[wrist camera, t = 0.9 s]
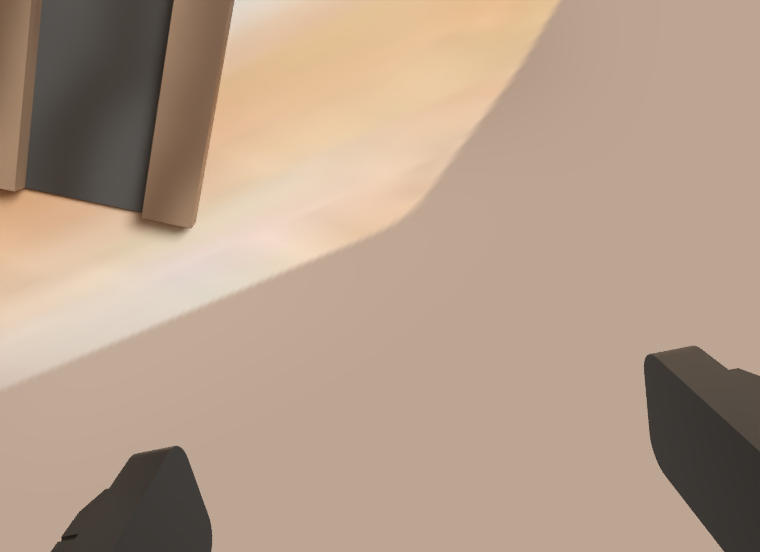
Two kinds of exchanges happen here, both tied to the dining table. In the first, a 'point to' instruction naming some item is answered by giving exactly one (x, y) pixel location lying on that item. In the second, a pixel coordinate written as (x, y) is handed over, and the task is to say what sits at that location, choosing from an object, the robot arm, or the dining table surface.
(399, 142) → the dining table surface
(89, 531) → the robot arm
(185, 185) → the tunnel track
